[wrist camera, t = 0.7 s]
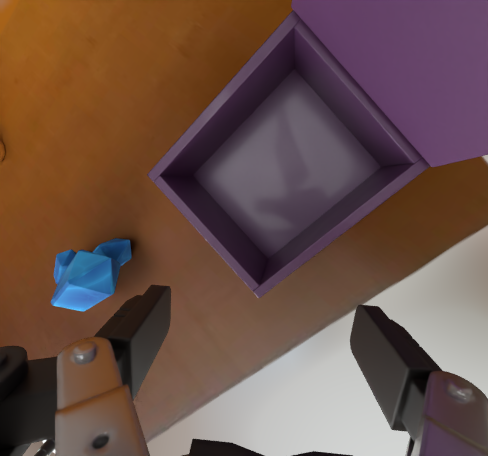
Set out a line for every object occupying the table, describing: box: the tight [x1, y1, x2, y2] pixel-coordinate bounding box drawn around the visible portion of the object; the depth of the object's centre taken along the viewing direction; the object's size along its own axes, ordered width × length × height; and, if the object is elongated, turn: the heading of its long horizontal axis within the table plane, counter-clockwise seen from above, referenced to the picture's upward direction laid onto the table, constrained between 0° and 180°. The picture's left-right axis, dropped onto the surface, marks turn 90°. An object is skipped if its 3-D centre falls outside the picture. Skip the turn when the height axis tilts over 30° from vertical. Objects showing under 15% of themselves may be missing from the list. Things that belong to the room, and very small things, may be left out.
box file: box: [147, 10, 430, 298], centre depth 23 cm, size 16×14×8 cm
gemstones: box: [51, 238, 132, 311], centre depth 29 cm, size 7×9×12 cm
